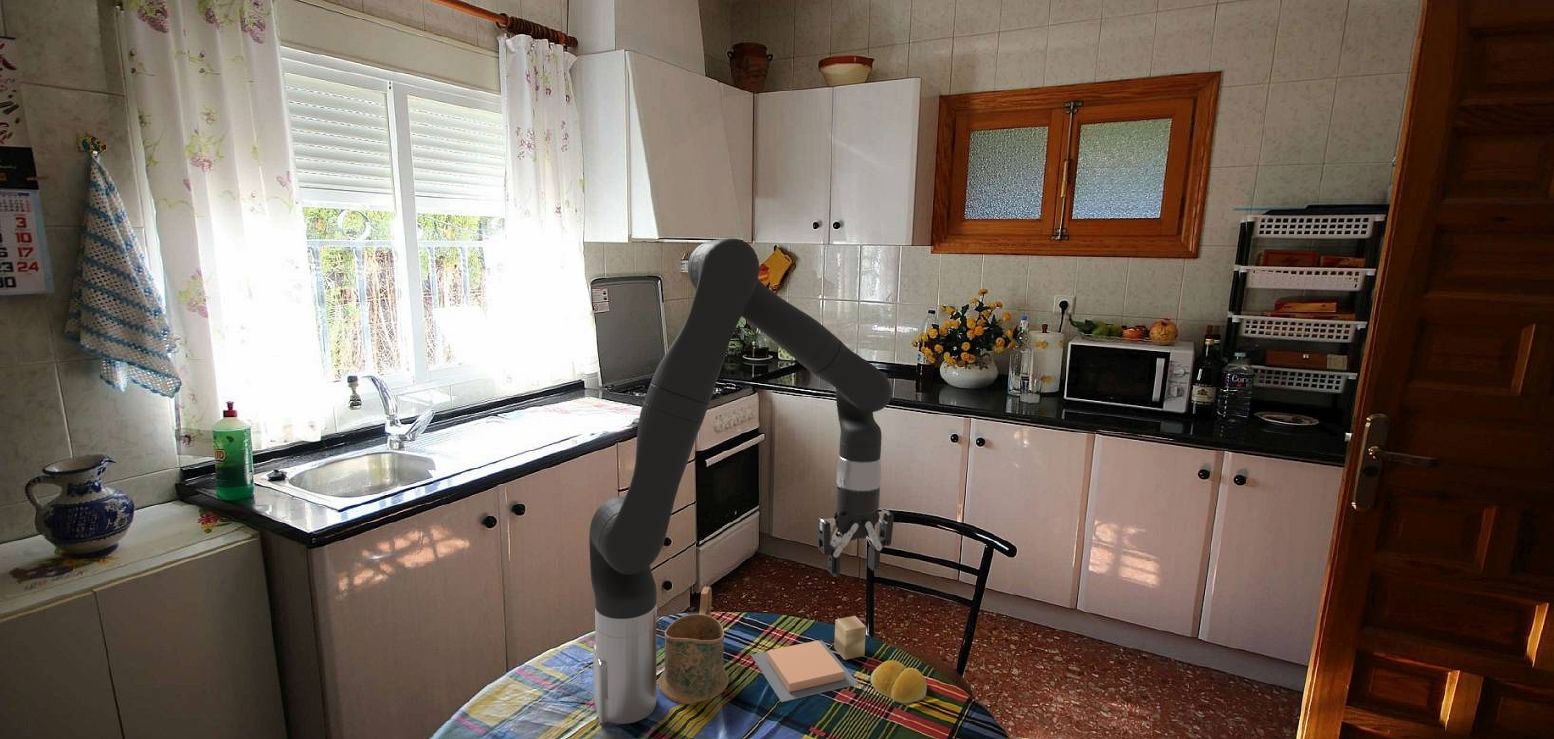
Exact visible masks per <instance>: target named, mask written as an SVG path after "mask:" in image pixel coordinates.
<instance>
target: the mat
mask: <svg viewBox="0 0 1554 739" xmlns="http://www.w3.org/2000/svg"><path fill="white" fill-rule="evenodd" d="M818 641H819V642H820V643H821V644H822V645H823V647H824V648H825V649H826V650H827V651H828V653H829V654H830V655H831V656H832V657H833V659H834V660H835V661H836V662H837V663H838V665H839V666H840V667H841V668H842V669H843V670H844V680H840V681H836V682H831V683H827V684H823V685H818V686H814V687H810V688H805V689H801V690H797V691H792V692H789V691H788V690H787V688H786V687H785V685H784V684H783V682H782V681H781V680H780V678H779V677H778V675H777V674H776V672H775V671H774V669H773V668H772V666H771V665H770V663H769V662H768V660H767V659H766V654H767V651H768V650H766V651H763V652H757V653H753V654H750V656H751V657H752V659H753V661H754V662H755V664H756V666H758V668H759V670H760V672H761V673H762V675H763V676H764V677H765V680H767V682H768V683H769V685H770V687H771V689H772V690H773V691H774V693H775V694H776V697H778V699H779V701H780V702H781V703H784V702H789V701H792V700H796V699H800V698H805V697H810V696H813V695H814V696H815V695H819V694H822V693H827V692H831V691H834V690H835V691H836V690H840V689H843V688H848V687H852V686H856V685H859V682H858V681H857V680H856V679H855V677H854V676H853V675H852V674H851V673H850V671H849V670H848V669H847V667H846V666H844V664H843V663H842V662H841V661H840V660H839V659H838V657H837V656H836V655H835V654H834V652H833V651H832V650H831V649H830V648H829V646H828V645H827V644H826V643H825V642H824V641H823V640H822V639H821V640H818Z"/></svg>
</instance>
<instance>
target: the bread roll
mask: <svg viewBox="0 0 1554 739" xmlns="http://www.w3.org/2000/svg"><path fill="white" fill-rule="evenodd" d="M870 682H871V685H872V686H873V688H874V690H875V691H876V692H877V693H879V694H881V695H882V696H884V697H887V698H889V699H892V700H893V701H895V702H897V703H900V704H909V703H915V702H919V701H921V700H923V699H924V698H925V697H926V695H927V691H928V690H927V689H928V683H927V680H926V677H925V676H924V675H923V673H922V672H921V671H919V669H917V668H914V667H907V666H905V665H904V664H903V663H901V662H899V661H898V660H892V659H891V660H889V659H888V660H885V661H883V662H882V663H881V664H879V665H878V666H876V668H875V669H874V670H873V671H872V673H871V675H870Z"/></svg>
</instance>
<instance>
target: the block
mask: <svg viewBox="0 0 1554 739" xmlns="http://www.w3.org/2000/svg"><path fill="white" fill-rule="evenodd" d="M834 624H835V625H834V643H833V644H834V645H833V648H834V649H835V651H836V652H837V653H838V655H840V657H841V658H842V659H843V660H844V661H847V660H850V659H855V658H860V657H864V656H865V649H866V648H865V647H866V632H867V626H866V625H865V624H864V623H863V622H862V621H861V620H860V619H859V617H857V616H856V615H851V616H847V617H842V618H837V619H835V621H834Z"/></svg>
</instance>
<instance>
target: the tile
mask: <svg viewBox="0 0 1554 739" xmlns="http://www.w3.org/2000/svg"><path fill="white" fill-rule="evenodd" d="M819 641H820V640H814V641H813V640H812V641H808V642H803V643H799V644H794V645H789V646H784V647H779V648H774V649H770V650H766V651H767V654H766V659H767V660H768V662H769V663H770V665H771V666H772V668H773V669H774V671H775V672H776V674H777V675H778V677H779V678H780V680H781V681H782V682H783V684H784V685H785V687H786V688H787V690H788V691H789V692H792V691H797V690H801V689H805V688H810V687H814V686H818V685H823V684H827V683H831V682H836V681H840V680H844V670H843V669H842V668H841V667H840V666H839V665H838V663H837V662H836V661H835V660H834V659H833V657H832V656H831V655H830V654H829V653H828V651H827V650H826V649H825V648H824V647H823V645H822V644H821V643H820V642H819Z"/></svg>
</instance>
